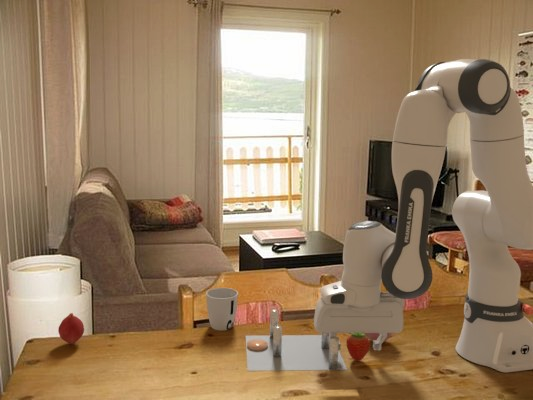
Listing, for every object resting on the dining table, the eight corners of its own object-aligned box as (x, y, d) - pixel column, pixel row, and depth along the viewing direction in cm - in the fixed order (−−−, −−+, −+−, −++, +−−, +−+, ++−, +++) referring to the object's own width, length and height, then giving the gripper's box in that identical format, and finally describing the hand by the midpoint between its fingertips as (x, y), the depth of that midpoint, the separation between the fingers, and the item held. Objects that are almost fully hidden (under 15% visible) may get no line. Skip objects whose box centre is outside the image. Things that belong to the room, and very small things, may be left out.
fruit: (372, 361, 129) (374, 328, 128) (360, 368, 125) (362, 335, 124) (352, 353, 133) (354, 322, 131) (340, 361, 129) (342, 328, 127)
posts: (324, 335, 140) (325, 308, 139) (338, 369, 123) (339, 340, 121) (269, 335, 139) (270, 309, 138) (275, 370, 122) (275, 340, 120)
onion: (53, 346, 133) (52, 315, 131) (70, 337, 138) (69, 306, 136) (73, 351, 131) (71, 319, 129) (89, 341, 136) (88, 310, 134)
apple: (379, 351, 134) (381, 320, 132) (355, 341, 139) (356, 311, 138) (399, 342, 139) (401, 312, 138) (374, 332, 145) (376, 303, 143)
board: (332, 338, 140) (332, 335, 140) (346, 373, 123) (347, 369, 123) (245, 339, 139) (245, 335, 139) (247, 375, 121) (247, 370, 121)
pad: (267, 341, 136) (267, 339, 136) (268, 350, 131) (268, 348, 131) (246, 341, 135) (246, 339, 135) (247, 351, 131) (247, 348, 130)
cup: (232, 337, 140) (233, 300, 138) (202, 334, 141) (202, 297, 140) (240, 324, 148) (241, 289, 146) (211, 321, 149) (211, 286, 147)
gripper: (401, 287, 129) (396, 343, 132) (314, 287, 128) (311, 343, 130) (410, 297, 123) (405, 355, 126) (318, 297, 121) (315, 355, 124)
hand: (356, 349), depth 128 cm, fingers open, 8 cm apart
